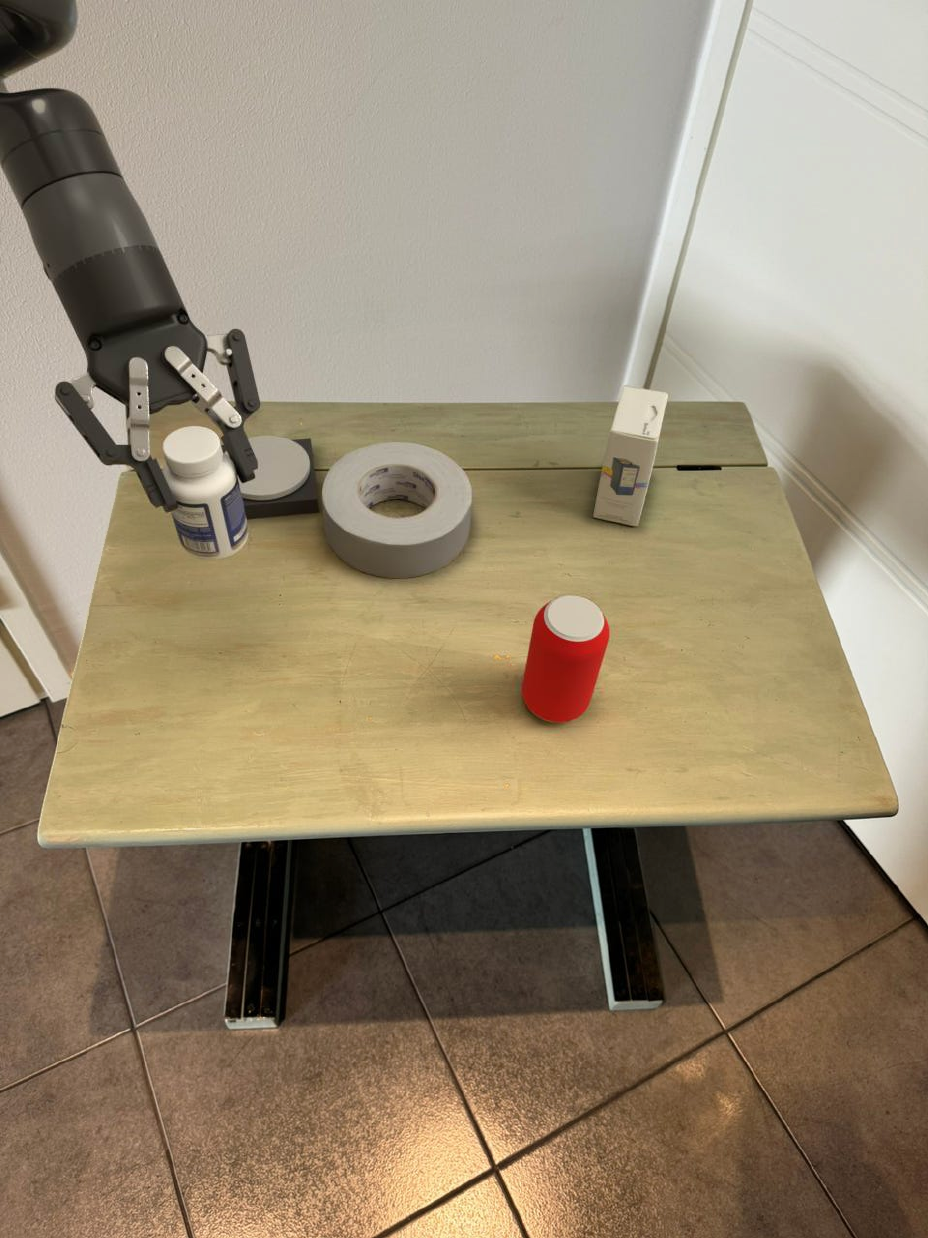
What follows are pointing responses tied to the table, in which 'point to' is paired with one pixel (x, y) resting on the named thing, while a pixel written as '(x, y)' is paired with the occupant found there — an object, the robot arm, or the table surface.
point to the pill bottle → (204, 494)
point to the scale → (280, 478)
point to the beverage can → (564, 658)
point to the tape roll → (389, 539)
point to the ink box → (630, 455)
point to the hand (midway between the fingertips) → (211, 494)
